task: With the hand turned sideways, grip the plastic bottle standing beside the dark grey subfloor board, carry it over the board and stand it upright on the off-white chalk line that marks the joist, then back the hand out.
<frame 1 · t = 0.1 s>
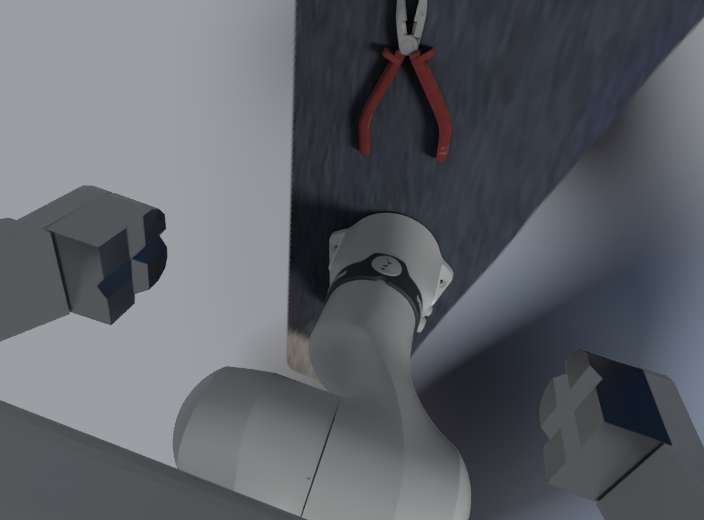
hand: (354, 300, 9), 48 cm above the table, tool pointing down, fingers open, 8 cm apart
pliers: (420, 82, 52), on the table
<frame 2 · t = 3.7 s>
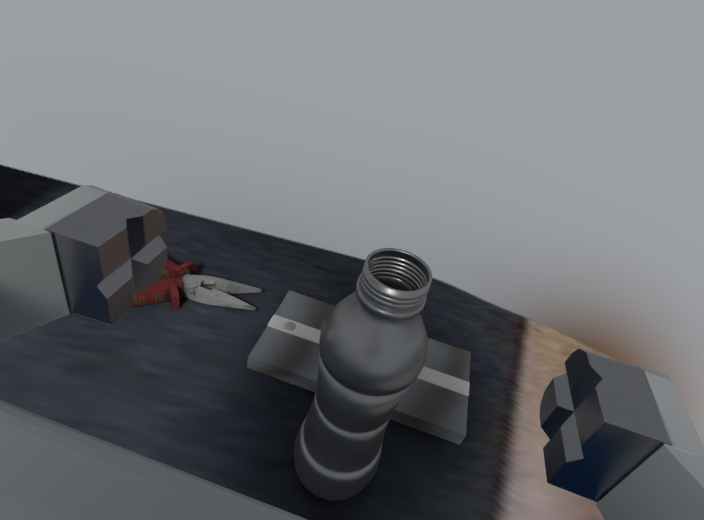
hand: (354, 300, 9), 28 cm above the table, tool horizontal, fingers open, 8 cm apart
pliers: (145, 299, 45), on the table
subfloor board: (364, 364, 43), on the table
plastic bottle: (330, 468, 34), on the table
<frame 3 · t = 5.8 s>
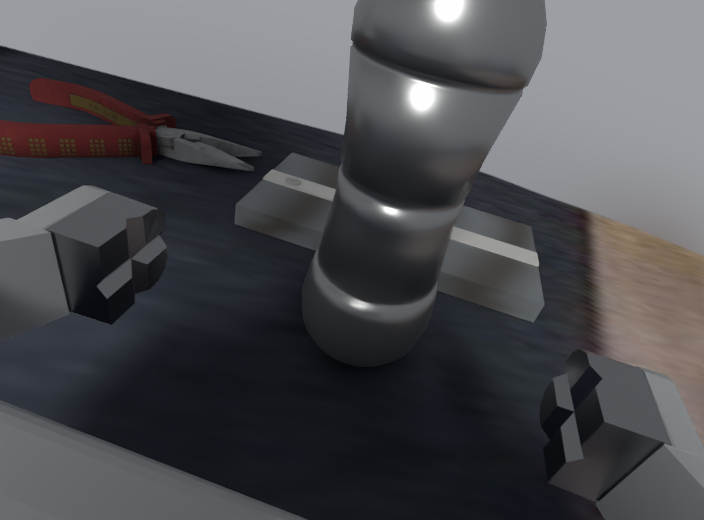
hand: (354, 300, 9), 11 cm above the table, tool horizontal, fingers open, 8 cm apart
pliers: (107, 155, 34), on the table
subfloor board: (392, 234, 32), on the table
plastic bottle: (355, 337, 23), on the table
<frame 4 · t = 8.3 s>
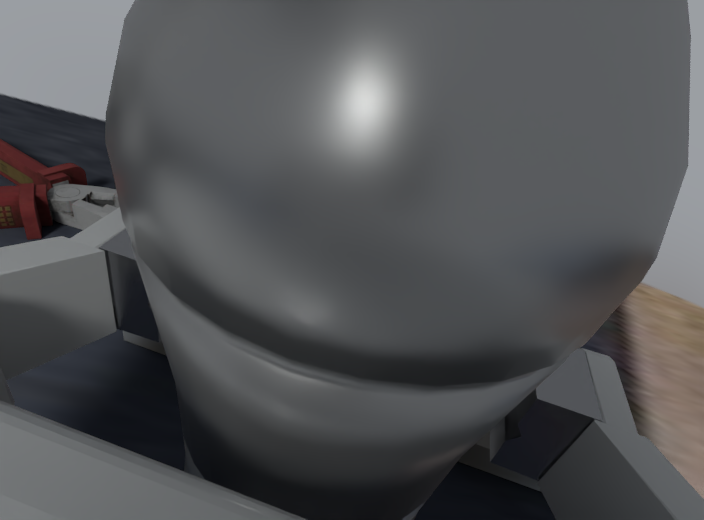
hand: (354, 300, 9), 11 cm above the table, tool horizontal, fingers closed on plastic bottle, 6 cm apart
subfloor board: (359, 337, 23), on the table
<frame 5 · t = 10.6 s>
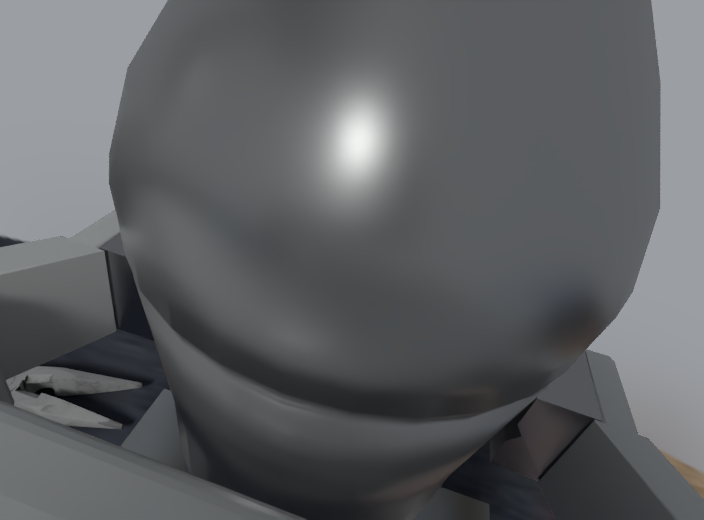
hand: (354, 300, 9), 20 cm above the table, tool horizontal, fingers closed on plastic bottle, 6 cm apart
when the fingers open (14 cm above the table, at t = 13.0 s): plastic bottle stays where it is, resting on subfloor board.
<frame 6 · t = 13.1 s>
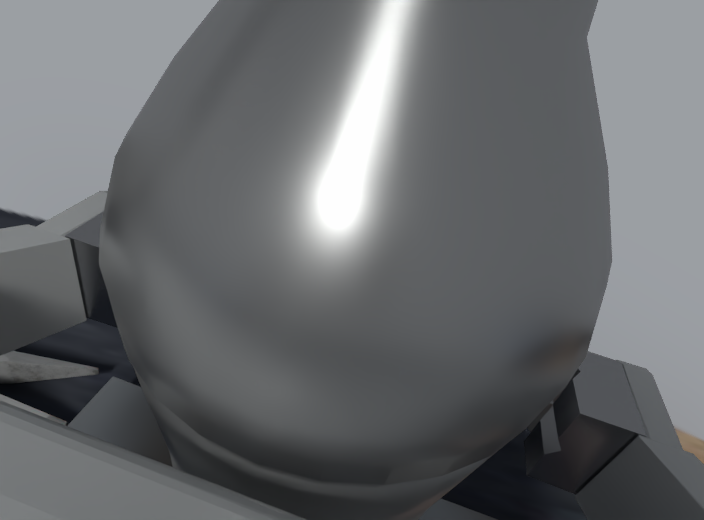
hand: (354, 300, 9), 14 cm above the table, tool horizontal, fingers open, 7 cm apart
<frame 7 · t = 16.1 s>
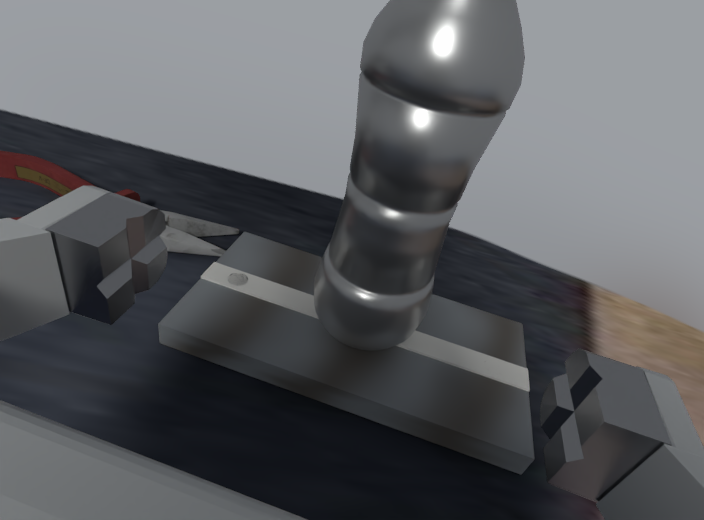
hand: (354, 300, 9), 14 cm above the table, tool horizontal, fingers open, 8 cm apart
pliers: (59, 244, 30), on the table
subfloor board: (356, 341, 27), on the table
plastic bottle: (360, 325, 26), point 1 cm above the table, touching subfloor board
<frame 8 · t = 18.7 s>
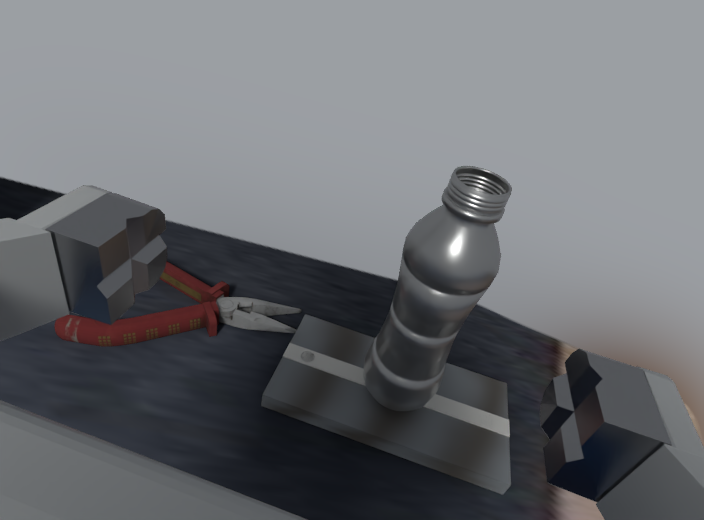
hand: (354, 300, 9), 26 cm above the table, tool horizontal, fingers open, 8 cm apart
pliers: (177, 325, 41), on the table, touching subfloor board
subfloor board: (390, 399, 39), on the table
plastic bottle: (394, 389, 38), point 1 cm above the table, touching subfloor board
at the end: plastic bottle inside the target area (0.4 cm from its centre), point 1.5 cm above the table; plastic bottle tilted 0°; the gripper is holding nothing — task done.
